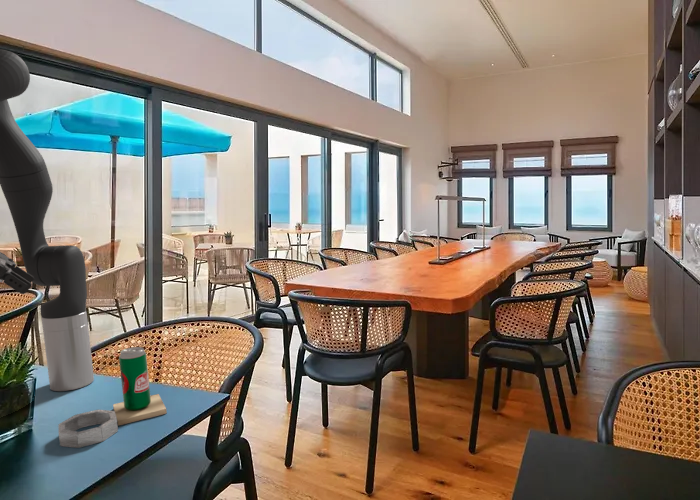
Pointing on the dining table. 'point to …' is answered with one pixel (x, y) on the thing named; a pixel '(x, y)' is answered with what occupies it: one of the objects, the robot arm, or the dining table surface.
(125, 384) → the soda can
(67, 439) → the ring
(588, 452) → the dining table surface
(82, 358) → the robot arm
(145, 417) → the board
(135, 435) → the dining table surface
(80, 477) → the dining table surface
